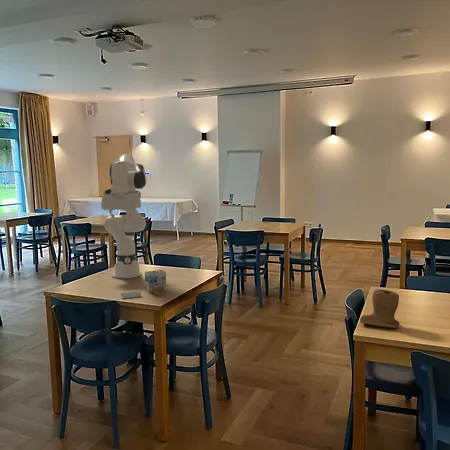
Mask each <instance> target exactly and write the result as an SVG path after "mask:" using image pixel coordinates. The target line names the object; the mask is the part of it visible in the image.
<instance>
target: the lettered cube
mask: <svg viewBox="0 0 450 450" xmlns="http://www.w3.org/2000/svg"><path fill="white" fill-rule="evenodd" d="M152 294H153V296H154V297H162V296H163V297H164V295H165V291H164V286H163V285H162V284H158V285H153V292H152Z"/></svg>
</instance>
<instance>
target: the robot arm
mask: <svg viewBox="0 0 450 450" xmlns="http://www.w3.org/2000/svg"><path fill="white" fill-rule="evenodd" d="M145 171H146V170H145V167H144V165H143V164H140V163H136V162H135V159H134V157H133V156H132V155H131V154H129V153H125V154H122V155H120V156H119V157H118V158H117V160H116V161H114V162H113V163H111V164H110V166H109V167H108V175H109V177H110V185H111V187H110V188H107V189H105V190H103V193H102V194H103V196H102V197H101V202H100V203H101V209H102V210H103V211H108V213H109V214H110V215H109V216H107V217H105V219H104V222H103V225H104V228H105V230H106V231H107V232H109V234H111V236H112V237H113V238H114V240H115V242H116V243H115V244H116V250H117V252H116V253H117V254H116V260H117V261H116V263H114V265H113V269H114V272H113V274H112V276H111V277H112V278H118V279H132V278H137V277H139V276H143V273H142V272H141V271H140V262H139V261H138V260H137V254H136V242H135V240H134V239H133V238H132V237H128V236H127V234H126V233H138V232H142V231H144V230H145V228H146V226H147V221H146V219H145V217H144V216H143V215H142V214H140V212H139V211H138V210H137V209H140V208H141V207H142V201H141V198H142V194H141V193H142V192H141V191H140V190H142V189H144V187H146V185H147V176H146V172H145ZM136 189H137V190H136ZM113 210H114V211H115V210H122V211H124V212H125V213H126V214H114V213H112V212H113Z"/></svg>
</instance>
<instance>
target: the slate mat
mask: <svg viewBox="0 0 450 450" xmlns="http://www.w3.org/2000/svg"><path fill="white" fill-rule="evenodd" d="M120 295H121V297H122V298H121V299H122V300H127V299H128V300H129V299H139V298H143V295H142V294H141V291H132V292H130V291H129V292H121V293H120Z"/></svg>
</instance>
